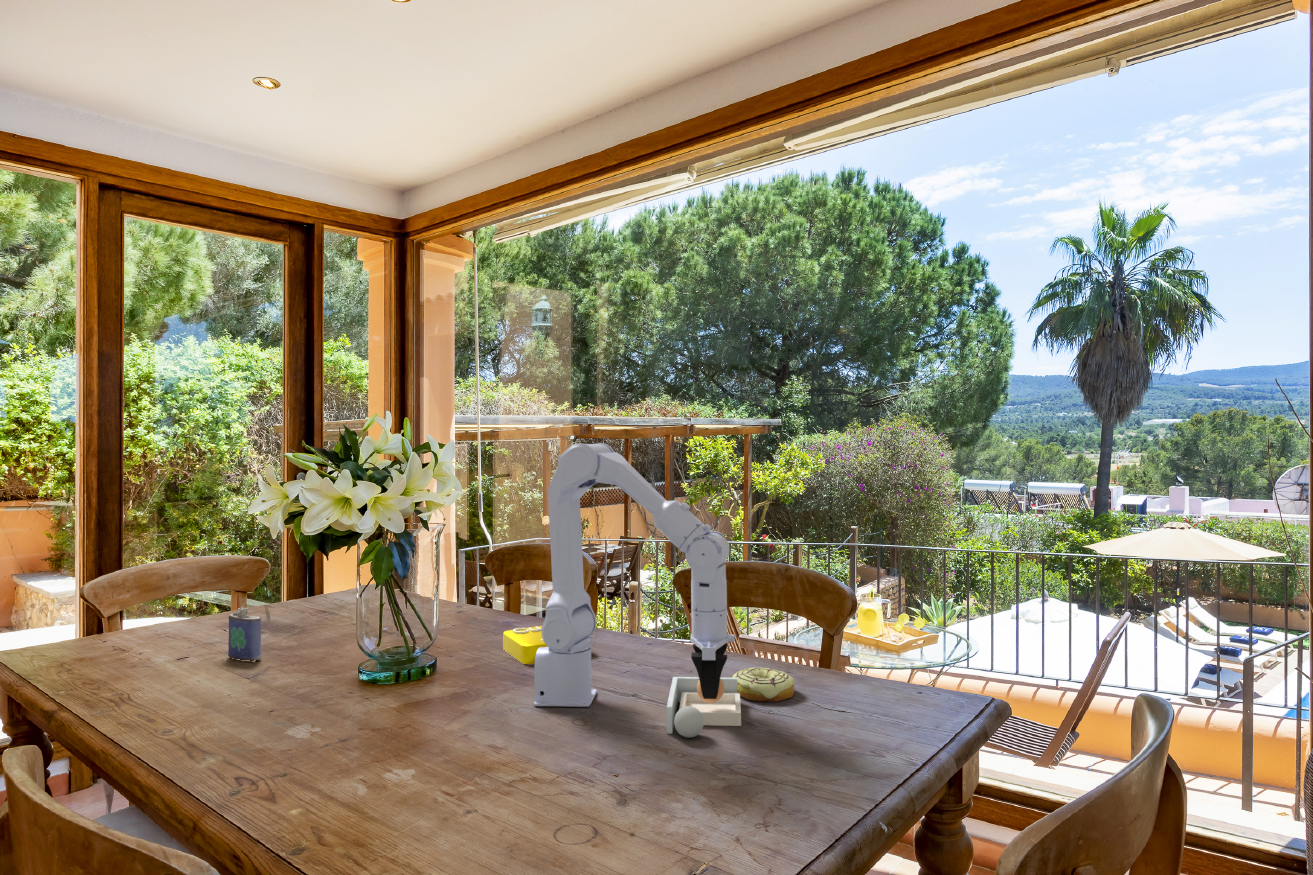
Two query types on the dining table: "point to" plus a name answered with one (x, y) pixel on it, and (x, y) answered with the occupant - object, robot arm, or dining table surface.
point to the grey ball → (689, 721)
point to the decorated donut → (764, 684)
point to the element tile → (523, 643)
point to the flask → (244, 636)
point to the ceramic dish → (715, 708)
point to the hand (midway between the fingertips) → (710, 692)
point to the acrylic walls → (689, 686)
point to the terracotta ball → (720, 694)
